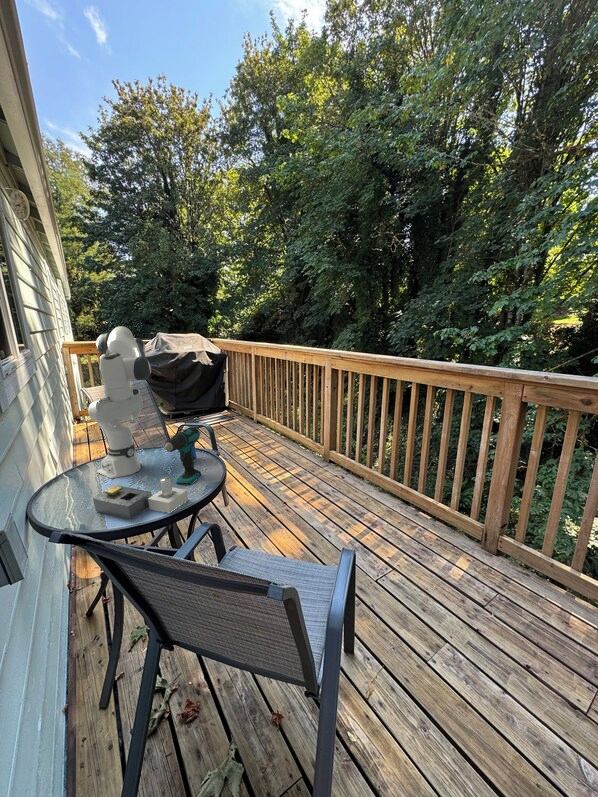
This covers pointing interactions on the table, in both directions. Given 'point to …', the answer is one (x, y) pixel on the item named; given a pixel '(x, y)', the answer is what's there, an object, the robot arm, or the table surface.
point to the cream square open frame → (167, 500)
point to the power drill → (185, 453)
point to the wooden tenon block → (113, 490)
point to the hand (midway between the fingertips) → (124, 426)
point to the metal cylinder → (166, 487)
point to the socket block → (123, 503)
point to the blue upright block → (193, 452)
